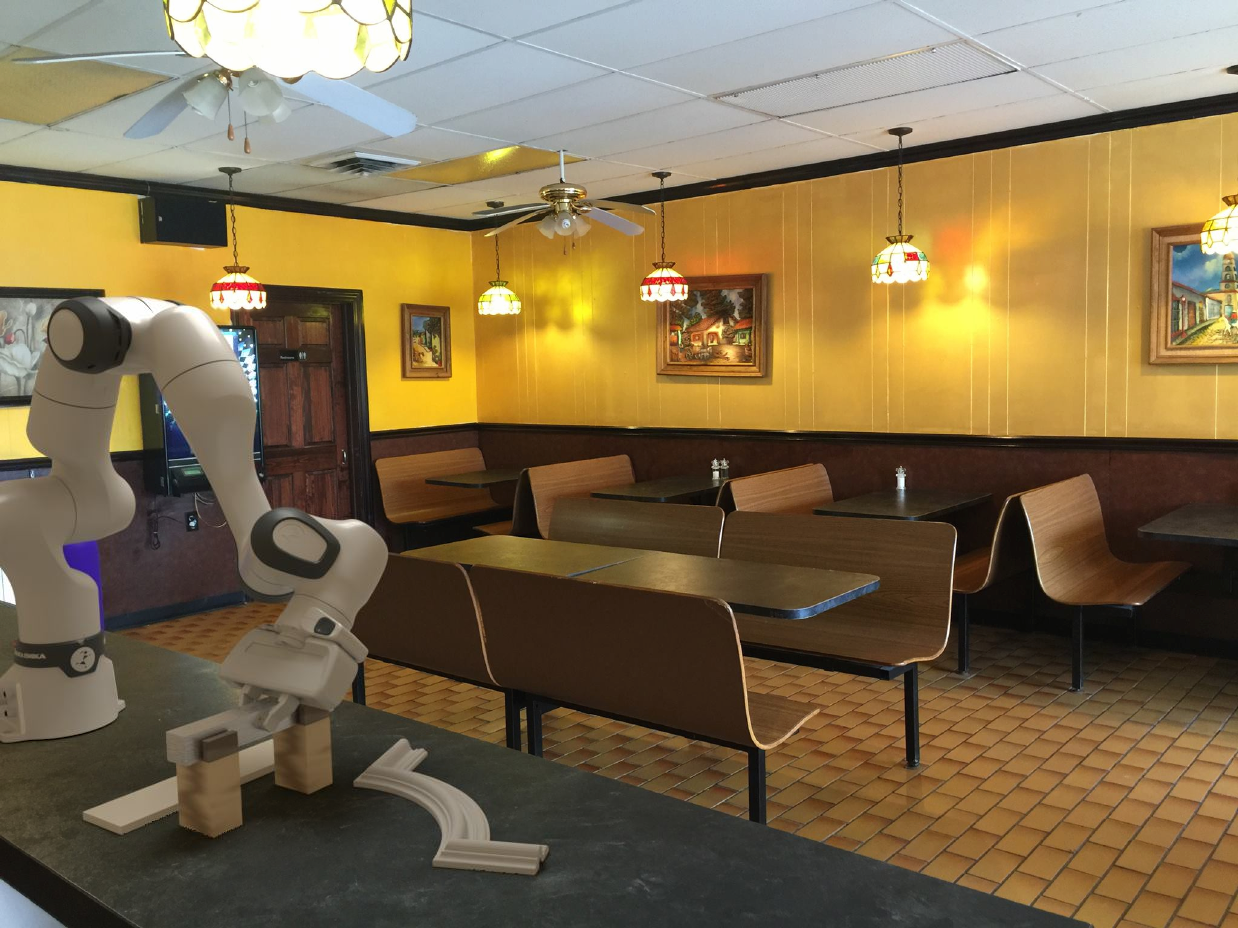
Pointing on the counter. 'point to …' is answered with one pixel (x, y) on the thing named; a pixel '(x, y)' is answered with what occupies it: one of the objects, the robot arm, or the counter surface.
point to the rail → (223, 730)
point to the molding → (450, 816)
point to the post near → (212, 788)
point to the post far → (304, 752)
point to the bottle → (86, 565)
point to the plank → (170, 795)
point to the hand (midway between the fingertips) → (251, 726)
